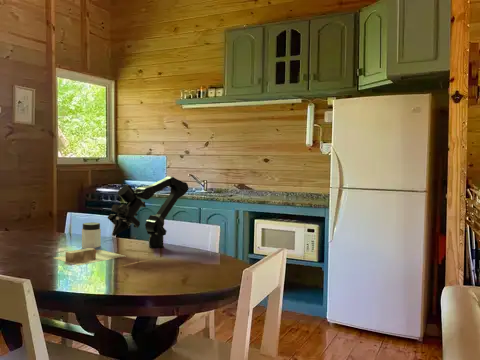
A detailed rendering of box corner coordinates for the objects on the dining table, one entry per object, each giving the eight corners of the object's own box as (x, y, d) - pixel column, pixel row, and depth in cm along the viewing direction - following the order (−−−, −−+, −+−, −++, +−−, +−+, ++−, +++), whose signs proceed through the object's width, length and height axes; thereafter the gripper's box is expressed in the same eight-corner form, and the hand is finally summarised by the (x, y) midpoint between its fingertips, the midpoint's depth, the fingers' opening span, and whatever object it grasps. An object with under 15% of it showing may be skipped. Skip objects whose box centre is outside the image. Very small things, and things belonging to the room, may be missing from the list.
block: (90, 247, 199) (65, 251, 190) (95, 248, 197) (70, 253, 187) (90, 256, 199) (65, 261, 190) (95, 257, 197) (70, 262, 187)
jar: (102, 248, 221) (102, 224, 220) (86, 250, 216) (86, 225, 215) (95, 245, 228) (96, 221, 227) (79, 247, 223) (79, 223, 222)
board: (99, 250, 214) (100, 249, 214) (126, 257, 202) (126, 256, 202) (52, 259, 195) (52, 257, 195) (78, 266, 183) (78, 265, 183)
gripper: (110, 197, 215) (90, 223, 207) (133, 198, 203) (113, 226, 195) (124, 212, 221) (106, 237, 214) (148, 213, 209) (129, 241, 201)
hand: (113, 235), depth 206 cm, fingers closed
